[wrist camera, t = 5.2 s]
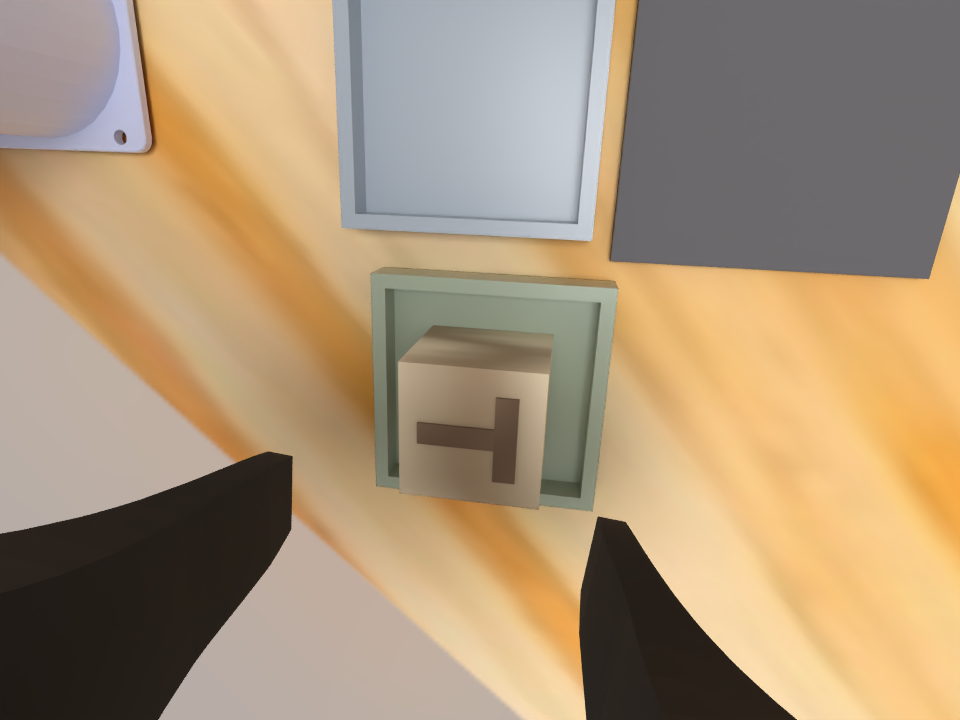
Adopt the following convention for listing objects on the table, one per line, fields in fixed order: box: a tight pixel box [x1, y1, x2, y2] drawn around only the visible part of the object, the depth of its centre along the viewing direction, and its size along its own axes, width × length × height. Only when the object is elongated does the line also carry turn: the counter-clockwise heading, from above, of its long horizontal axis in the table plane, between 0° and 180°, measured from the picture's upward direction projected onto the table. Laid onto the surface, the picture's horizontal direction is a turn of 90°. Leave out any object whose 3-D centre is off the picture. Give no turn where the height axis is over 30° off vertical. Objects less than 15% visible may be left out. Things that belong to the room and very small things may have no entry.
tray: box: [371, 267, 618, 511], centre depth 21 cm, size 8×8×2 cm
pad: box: [610, 0, 960, 279], centre depth 17 cm, size 10×10×1 cm
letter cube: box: [398, 325, 554, 509], centre depth 19 cm, size 4×4×5 cm
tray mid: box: [332, 0, 616, 241], centre depth 18 cm, size 8×8×2 cm
